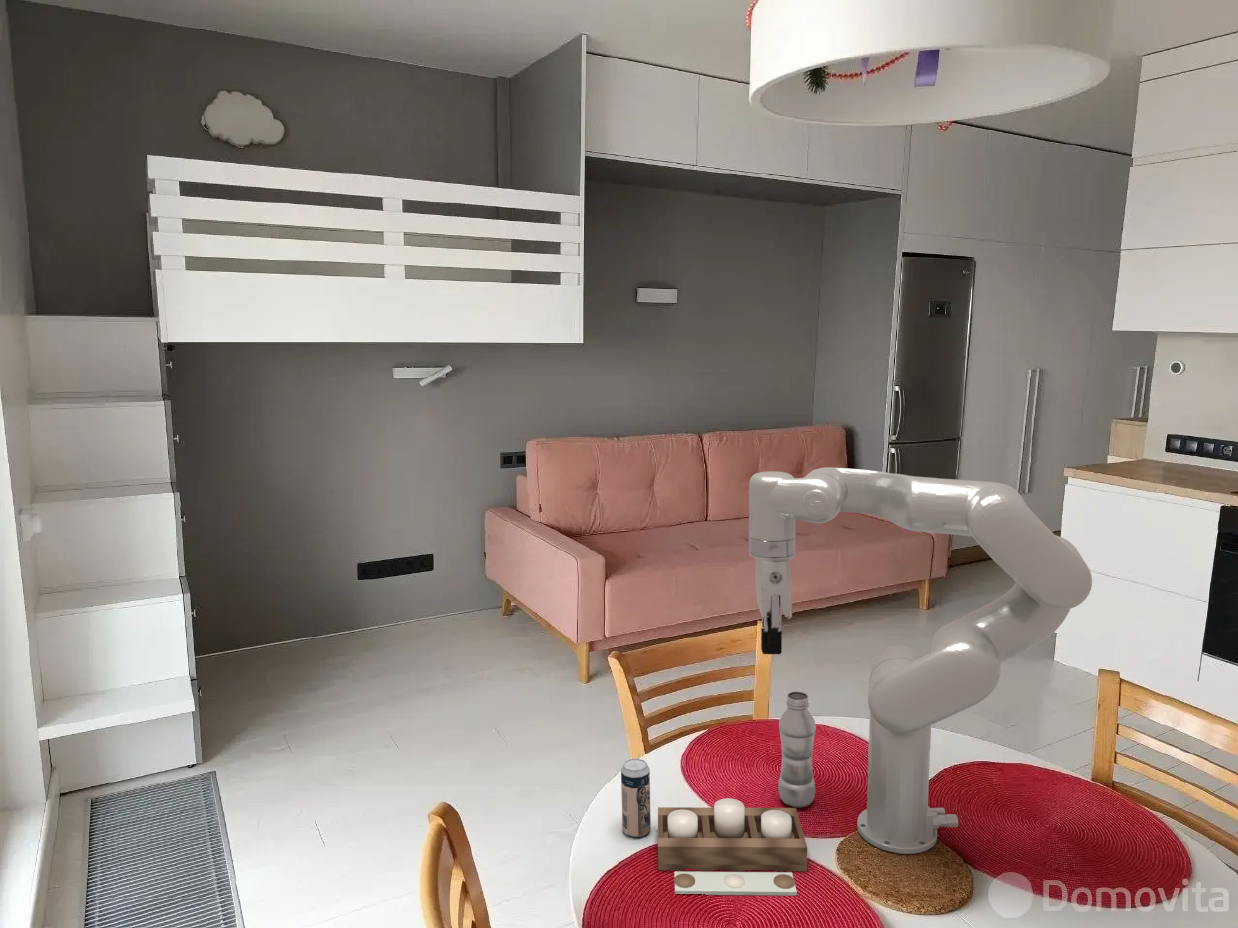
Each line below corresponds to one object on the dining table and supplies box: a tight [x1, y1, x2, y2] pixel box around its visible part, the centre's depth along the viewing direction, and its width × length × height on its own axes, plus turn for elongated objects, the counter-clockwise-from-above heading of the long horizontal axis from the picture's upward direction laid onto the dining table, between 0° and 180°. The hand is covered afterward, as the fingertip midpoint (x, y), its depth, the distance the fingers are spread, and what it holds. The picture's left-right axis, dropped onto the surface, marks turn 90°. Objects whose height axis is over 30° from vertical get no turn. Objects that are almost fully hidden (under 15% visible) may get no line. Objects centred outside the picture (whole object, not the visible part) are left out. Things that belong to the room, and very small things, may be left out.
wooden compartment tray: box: [657, 806, 808, 872], centre depth 138 cm, size 23×11×4 cm, turn 87°
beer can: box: [620, 758, 652, 838], centre depth 143 cm, size 5×5×12 cm
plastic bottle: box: [777, 690, 817, 809], centre depth 150 cm, size 6×7×20 cm
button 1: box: [668, 809, 698, 838], centre depth 138 cm, size 5×5×4 cm
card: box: [673, 870, 798, 897], centre depth 129 cm, size 18×5×1 cm, turn 87°
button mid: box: [713, 797, 745, 838], centre depth 137 cm, size 5×5×4 cm
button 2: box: [761, 810, 792, 839], centre depth 137 cm, size 5×5×4 cm
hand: (771, 652), depth 144 cm, fingers closed
